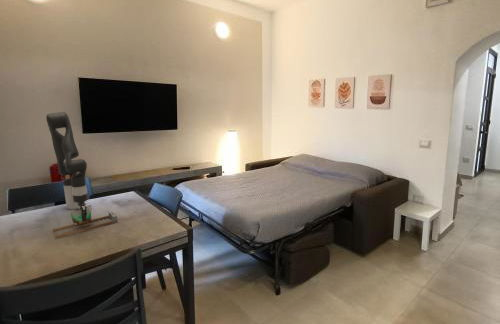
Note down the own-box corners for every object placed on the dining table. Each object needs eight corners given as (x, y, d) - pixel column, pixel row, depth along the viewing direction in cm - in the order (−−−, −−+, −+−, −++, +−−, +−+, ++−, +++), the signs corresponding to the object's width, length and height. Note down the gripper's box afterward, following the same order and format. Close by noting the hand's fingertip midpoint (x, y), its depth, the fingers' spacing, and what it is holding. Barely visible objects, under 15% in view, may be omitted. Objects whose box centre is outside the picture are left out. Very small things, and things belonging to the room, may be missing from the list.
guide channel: (53, 231, 166) (51, 225, 165) (112, 216, 187) (111, 211, 186) (55, 238, 157) (54, 231, 157) (117, 222, 178) (116, 216, 177)
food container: (75, 228, 164) (73, 212, 162) (71, 226, 168) (68, 210, 166) (97, 221, 173) (95, 206, 171) (92, 219, 177) (90, 204, 175)
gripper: (70, 191, 170) (74, 217, 173) (74, 197, 159) (78, 225, 163) (84, 188, 174) (88, 214, 178) (89, 194, 164) (93, 221, 167)
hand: (83, 219), depth 170 cm, fingers closed on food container, 5 cm apart
